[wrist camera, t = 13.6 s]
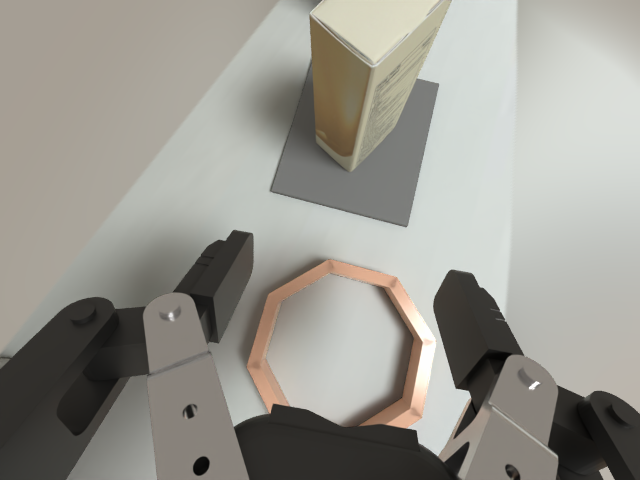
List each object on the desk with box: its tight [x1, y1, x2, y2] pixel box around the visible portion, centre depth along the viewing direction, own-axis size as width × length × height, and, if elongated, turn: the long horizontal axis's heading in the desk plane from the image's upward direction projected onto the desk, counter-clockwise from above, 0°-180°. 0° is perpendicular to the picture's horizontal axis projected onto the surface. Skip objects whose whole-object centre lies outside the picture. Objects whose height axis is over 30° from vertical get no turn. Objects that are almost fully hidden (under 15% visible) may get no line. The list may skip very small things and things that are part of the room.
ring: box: [247, 259, 436, 428], centre depth 21 cm, size 13×13×2 cm
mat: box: [271, 63, 439, 227], centre depth 25 cm, size 12×14×1 cm
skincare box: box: [310, 0, 452, 172], centre depth 19 cm, size 6×4×12 cm
